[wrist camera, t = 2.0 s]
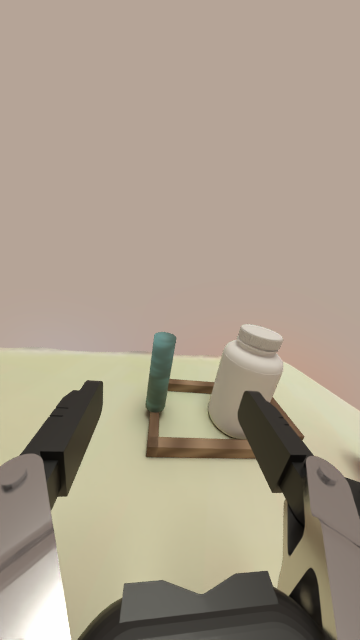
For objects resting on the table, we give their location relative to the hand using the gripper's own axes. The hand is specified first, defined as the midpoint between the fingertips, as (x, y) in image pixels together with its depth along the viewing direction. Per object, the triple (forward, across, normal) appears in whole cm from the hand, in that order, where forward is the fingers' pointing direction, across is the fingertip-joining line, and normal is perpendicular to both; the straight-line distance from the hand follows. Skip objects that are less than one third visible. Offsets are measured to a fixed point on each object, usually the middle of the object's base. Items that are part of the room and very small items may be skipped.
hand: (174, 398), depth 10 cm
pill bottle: (+12, -12, +15) cm, 23 cm away
